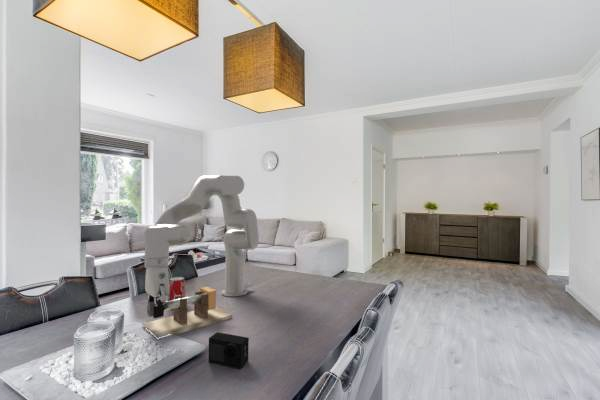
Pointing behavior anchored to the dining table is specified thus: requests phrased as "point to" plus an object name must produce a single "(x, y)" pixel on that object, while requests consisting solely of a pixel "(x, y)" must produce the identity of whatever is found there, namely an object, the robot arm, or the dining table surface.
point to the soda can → (176, 287)
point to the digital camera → (228, 350)
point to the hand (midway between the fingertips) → (155, 314)
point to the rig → (187, 318)
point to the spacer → (210, 297)
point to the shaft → (173, 304)
